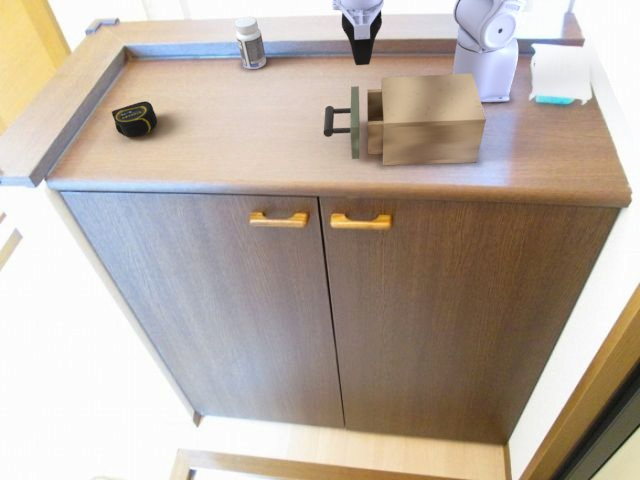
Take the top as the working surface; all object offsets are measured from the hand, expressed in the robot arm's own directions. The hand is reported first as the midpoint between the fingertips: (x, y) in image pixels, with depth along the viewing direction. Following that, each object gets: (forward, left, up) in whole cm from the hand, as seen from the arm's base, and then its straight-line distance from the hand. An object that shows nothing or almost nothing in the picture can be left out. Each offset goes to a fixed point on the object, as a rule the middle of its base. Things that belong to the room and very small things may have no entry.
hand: (362, 62), depth 71 cm
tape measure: (+39, +1, -10) cm, 41 cm away
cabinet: (-10, +7, -9) cm, 15 cm away
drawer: (-2, +7, -8) cm, 11 cm away
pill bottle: (+21, -19, -10) cm, 30 cm away
